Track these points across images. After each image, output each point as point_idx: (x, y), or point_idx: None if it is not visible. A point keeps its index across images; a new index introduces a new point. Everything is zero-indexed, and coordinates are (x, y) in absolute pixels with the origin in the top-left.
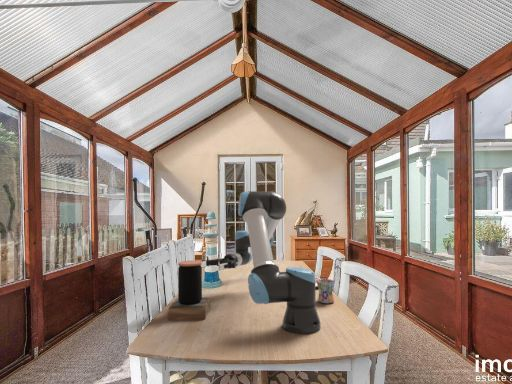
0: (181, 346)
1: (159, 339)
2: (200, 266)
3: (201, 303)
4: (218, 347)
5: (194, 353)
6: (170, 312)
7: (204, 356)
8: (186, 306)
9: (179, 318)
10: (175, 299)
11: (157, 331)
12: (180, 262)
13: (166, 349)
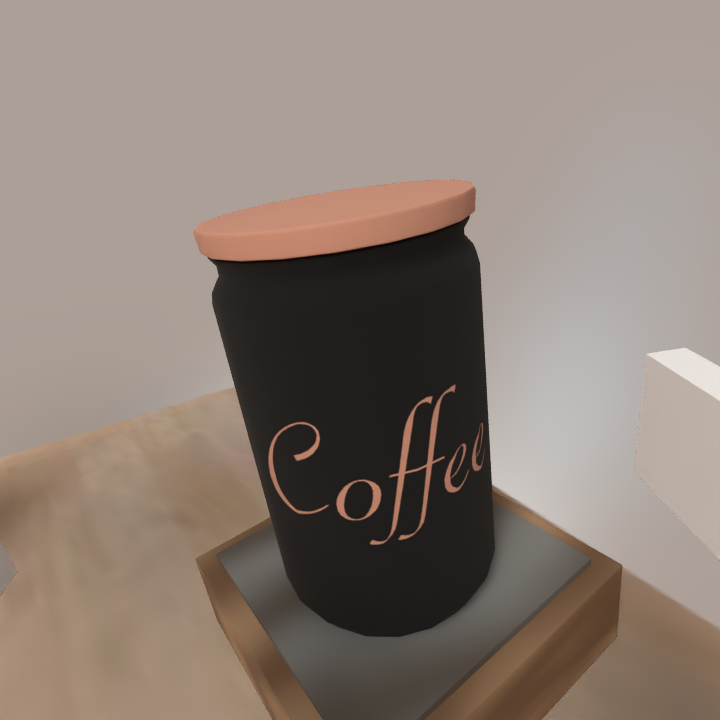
0: (170, 430)
1: None
2: (225, 282)
3: (272, 584)
4: (34, 479)
5: (107, 432)
6: None
7: (69, 438)
8: None
9: None
10: (587, 546)
11: None
12: (417, 183)
13: (205, 407)
